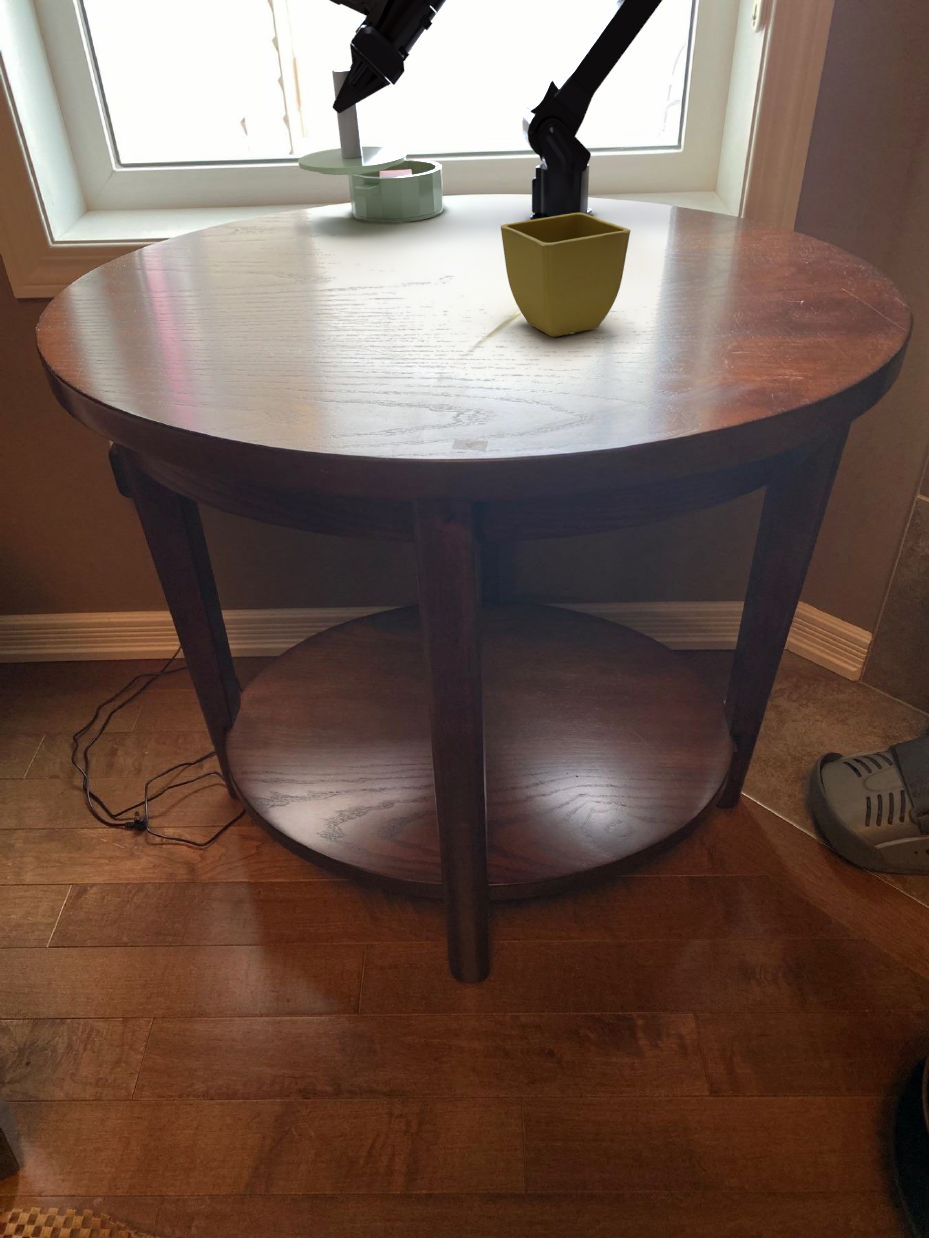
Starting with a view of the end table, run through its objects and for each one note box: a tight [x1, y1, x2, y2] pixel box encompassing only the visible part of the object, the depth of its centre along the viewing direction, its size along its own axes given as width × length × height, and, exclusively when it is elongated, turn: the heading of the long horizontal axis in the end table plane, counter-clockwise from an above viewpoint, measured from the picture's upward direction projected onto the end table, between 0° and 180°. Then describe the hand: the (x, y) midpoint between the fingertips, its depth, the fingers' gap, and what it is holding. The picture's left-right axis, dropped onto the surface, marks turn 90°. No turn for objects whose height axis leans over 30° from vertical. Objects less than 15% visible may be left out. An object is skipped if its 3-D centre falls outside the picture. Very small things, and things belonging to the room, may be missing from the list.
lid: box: [297, 68, 407, 176], centre depth 112 cm, size 14×14×11 cm
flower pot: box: [500, 213, 631, 338], centre depth 84 cm, size 9×9×9 cm
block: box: [380, 169, 412, 177], centre depth 125 cm, size 4×4×4 cm
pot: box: [347, 158, 445, 223], centre depth 125 cm, size 13×18×6 cm
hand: (336, 108), depth 111 cm, fingers closed on lid, 2 cm apart
